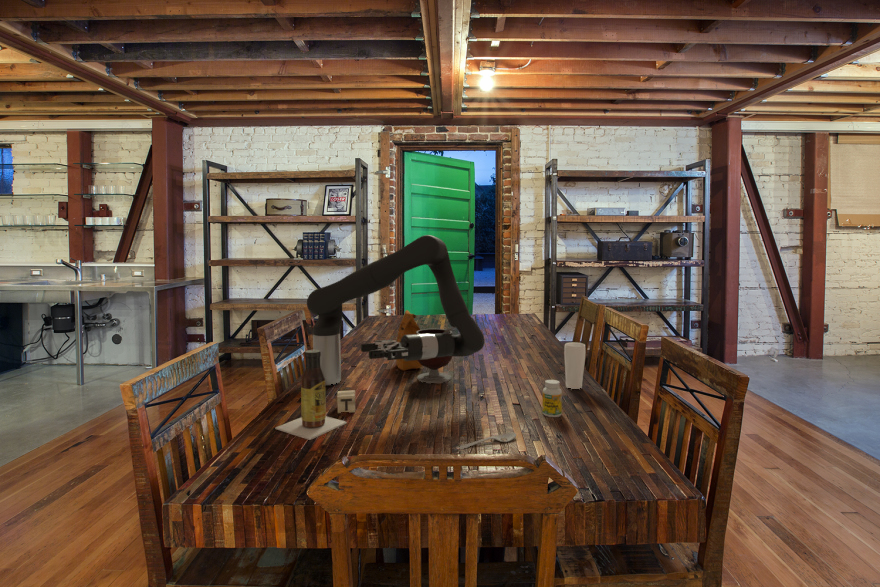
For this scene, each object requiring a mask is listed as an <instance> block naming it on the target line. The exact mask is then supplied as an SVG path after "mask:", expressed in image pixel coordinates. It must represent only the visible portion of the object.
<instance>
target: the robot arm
mask: <svg viewBox="0 0 880 587" xmlns="http://www.w3.org/2000/svg"><path fill="white" fill-rule="evenodd" d="M421 266H422V267H423V266H428V267H429V269H430V271H431V272H432V274H433V275H434V278H435V281H436V284H437V285H436V286H437V289H438V294H439V295H438V296H439V300H440V304H441V308H442V309H443V312H444V315H445V318H446V320H447V322H448V324H449V325H450V327H456V328H455V329H457V331H458V332H459V334H452V335H450V334H448V333H438V334H412V335H404V336H403V337H402V338H401V341H400V342H397V340H394V339H381V340H377V339H376V340H373V342H369V343H360V351H361V352H362V353H367V352H368V358H369V359H370V360H374V359H375V360H376V359H383V360H386V361H394V360H396V359H404V360H405V361H413V360H424V359H430V358H436V357H445V356H452V357H457V358H458V357H459V358H460V357H468V356H471V355H473V354H476V353H478V352H480V351H481V350H482V349H483V348H484V346H485V336H484V333H483V331H482V329H481V328H480V327H479V326H480V325H478V323H477V322H476V321H475V319H474V318H473V317H472V316H471V314H470V311H469V309H468V306H467V304H466V301H465V300H464V297H463V295H462V292H461V290H460V288H459V284H458V282H457V279H456V277H455V274H454V271H453V267H452V264H451V260H450V254H449V251H448V247H447V244H446V243H445V241H443V240H442V239H440V238H439V237H437V236H434V235H430V234H425V235H421V236H419V237H418V238H416V239H415V240H413V241H411V242H410V243H408V244H406V245H405V246H404V247H402V248H400V249H398V250H397V251H394V252H393V253H389V254H388V255H385V256H384V257H382V258H379V259H377V260H375V261H373V262H371V263H368V264H366V265H364V266H362V267H360V268H359V269H357V270H355V271H353V272H351V273H350V274H348V275H347V276H345V277H343V278H341V279H340V280H337V281H336V282H334V283H331V284H329V285H326V286H323V287H319V288H316V289H314V290H313V291H312V292H310V294H309V295H308V296H307V300H306V307H307V309H308V311H309V313H312V314H314V315H315V316H318V317H317V320H316V322H315V323H314V324H313V326H312V348H313V349H312V350H320V352H321V356H320V365H321V366H320V367H321V370H322V373H323V375H324V378H325V386H332V385H331V384H333V385H337V384H340V383H341V382H342V365H341V327H342V324H343V304H344V303H347V302H349V301H352V300H355V299H359V298H363V297H367V296H369V295H371V294H372V295H373V294H374V293H376V292H378V291H381V290H383V289H385V288H387V287H388V286H390V285H392V284H393V283H394V282H395V281H397V279H399V278H400V277H401V276H402V275H403V274H405V273H406V272H408V271H410V270H413V269H415V268H418V267H421ZM340 381H341V382H340ZM336 383H337V384H336Z"/></svg>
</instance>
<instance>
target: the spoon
mask: <svg viewBox="0 0 880 587" xmlns="http://www.w3.org/2000/svg"><path fill="white" fill-rule="evenodd" d="M516 437H517V433H516V432H505V433H502V434H497V435H492V436H489V437H486V438H483V439H480V440H476V441H473V442H470V443H465V444H462V445H459V446H460V447H458V446H456V447H457V448H460V449H462V450H465V449H464V448H466V449H467V448H470V446H471V447H472V446H475V445H477V444H480V443H483V442H485V441H489V440H496V441H498V442H502V443H508V442H511V441H512V440H514V439H516ZM502 439H506V440H502Z"/></svg>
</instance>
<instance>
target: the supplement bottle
mask: <svg viewBox="0 0 880 587" xmlns="http://www.w3.org/2000/svg"><path fill="white" fill-rule="evenodd" d="M544 381H545V382H544V386H545V387H544V388H542V400H541V401H542V402H541V403H542V406H541V407H542V410H541V414H543V415H544V416H545V417H549V418H559V417H561V416H562V412H563V411H562V407H563V398H562V397H563V392H562V391H563V390H562V389H561V388H560V386H561V384H560V381H559V380H556V379H546V380H544Z"/></svg>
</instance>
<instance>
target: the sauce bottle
mask: <svg viewBox="0 0 880 587" xmlns="http://www.w3.org/2000/svg"><path fill="white" fill-rule="evenodd" d="M320 356H321V352H320V350H313V349H308V350H306V351H304V357H305V366H304V367H305V369H304V371H303V372H302V375H301V378H300V380H301V381H300V382H301V386H300V398H301V399H300V400H301V401H300V402H301V404H300V405H301V406H300V408H301V414H300V415H301V416H300V418H302V425H303V426H304V427H307V428H315V427H319V426H322V425H324V423H325V418H326V416H327V414H326V412H327V411H326V408H327V407H326V406H327V405H326V404H327V402H326V401H327V400H326V385H325V378H324V375H323V373H322V370H321V367H320V366H321V365H320Z"/></svg>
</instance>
